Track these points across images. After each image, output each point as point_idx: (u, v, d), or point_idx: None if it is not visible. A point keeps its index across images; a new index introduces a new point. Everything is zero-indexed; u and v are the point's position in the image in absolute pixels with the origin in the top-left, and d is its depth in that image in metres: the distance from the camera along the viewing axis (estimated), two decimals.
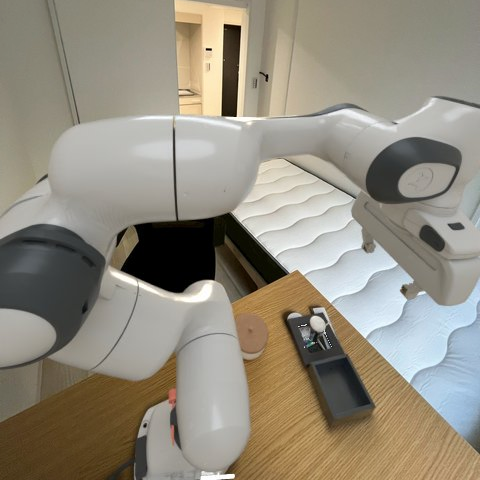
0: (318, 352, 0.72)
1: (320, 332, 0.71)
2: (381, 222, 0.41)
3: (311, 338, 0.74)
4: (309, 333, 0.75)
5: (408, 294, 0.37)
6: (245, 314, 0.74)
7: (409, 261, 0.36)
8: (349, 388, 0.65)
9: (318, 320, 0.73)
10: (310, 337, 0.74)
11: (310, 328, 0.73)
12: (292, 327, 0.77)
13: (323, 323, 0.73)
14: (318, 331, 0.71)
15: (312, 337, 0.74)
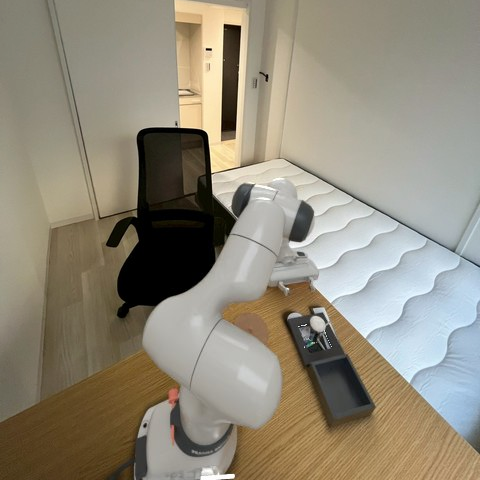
0: (318, 352, 0.72)
1: (320, 332, 0.71)
2: (284, 269, 0.91)
3: (311, 338, 0.74)
4: (309, 333, 0.75)
5: (313, 285, 0.86)
6: (245, 314, 0.74)
7: (303, 270, 0.91)
8: (349, 388, 0.65)
9: (318, 320, 0.73)
10: (310, 337, 0.74)
11: (310, 328, 0.73)
12: (292, 327, 0.77)
13: (323, 323, 0.73)
14: (318, 331, 0.71)
15: (312, 337, 0.74)
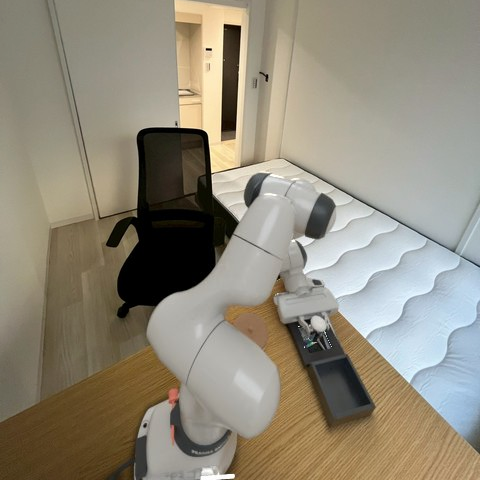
0: (318, 352, 0.72)
1: (321, 332, 0.71)
2: (299, 302, 0.79)
3: (311, 338, 0.74)
4: None
5: (327, 323, 0.75)
6: (245, 314, 0.74)
7: (320, 303, 0.79)
8: (349, 388, 0.65)
9: (318, 320, 0.73)
10: (310, 337, 0.74)
11: None
12: (292, 327, 0.77)
13: (324, 323, 0.73)
14: (319, 331, 0.71)
15: (312, 337, 0.74)
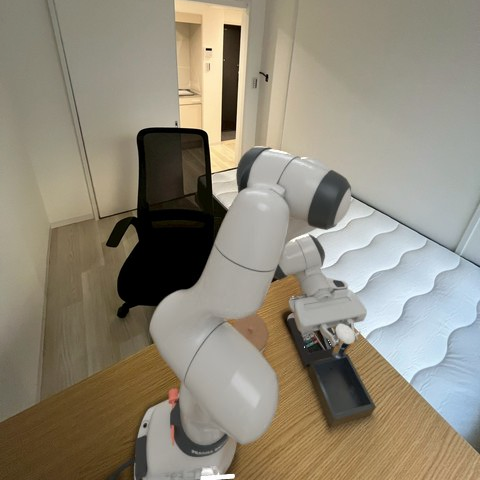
0: (318, 352, 0.72)
1: (349, 344, 0.59)
2: (320, 307, 0.67)
3: (336, 351, 0.62)
4: None
5: None
6: None
7: (345, 308, 0.67)
8: (349, 388, 0.65)
9: (345, 330, 0.61)
10: (335, 349, 0.62)
11: None
12: (292, 327, 0.77)
13: (352, 333, 0.60)
14: (346, 342, 0.59)
15: (338, 349, 0.61)
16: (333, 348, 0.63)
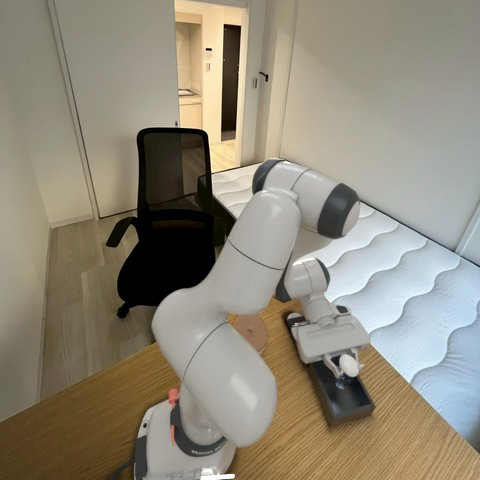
0: None
1: (353, 377, 0.58)
2: (323, 335, 0.66)
3: (340, 382, 0.61)
4: None
5: None
6: None
7: (348, 337, 0.66)
8: (349, 388, 0.65)
9: (349, 361, 0.60)
10: (339, 380, 0.61)
11: None
12: None
13: (356, 365, 0.59)
14: (351, 375, 0.58)
15: (341, 381, 0.60)
16: (337, 379, 0.62)
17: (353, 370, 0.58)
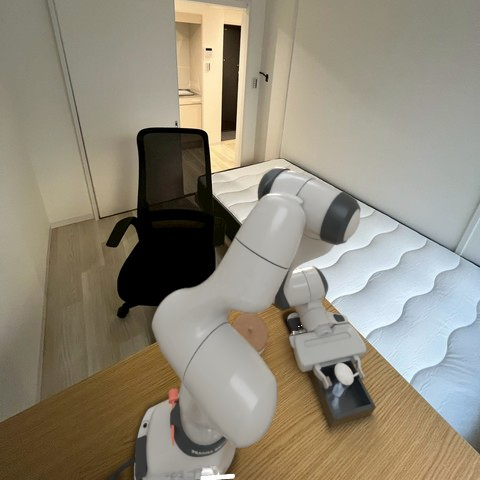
0: None
1: (347, 385, 0.60)
2: (320, 344, 0.67)
3: (336, 390, 0.63)
4: (333, 384, 0.63)
5: (361, 370, 0.63)
6: (245, 314, 0.74)
7: (344, 345, 0.67)
8: (349, 388, 0.65)
9: (344, 370, 0.61)
10: (334, 389, 0.63)
11: (335, 379, 0.62)
12: (292, 327, 0.77)
13: (350, 373, 0.61)
14: (345, 384, 0.60)
15: (337, 389, 0.62)
16: (333, 387, 0.64)
17: (347, 379, 0.60)
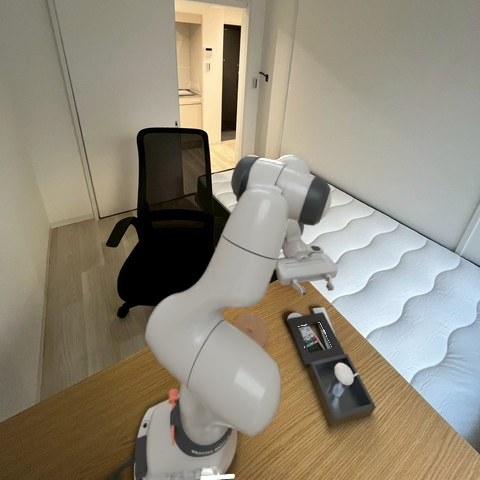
0: (318, 352, 0.72)
1: (347, 385, 0.60)
2: (298, 265, 0.80)
3: (336, 390, 0.63)
4: (333, 384, 0.63)
5: (331, 283, 0.75)
6: (245, 314, 0.74)
7: (319, 267, 0.79)
8: (349, 388, 0.65)
9: (344, 370, 0.61)
10: (334, 389, 0.63)
11: (335, 379, 0.62)
12: (292, 327, 0.77)
13: (350, 373, 0.61)
14: (345, 384, 0.60)
15: (337, 389, 0.62)
16: (333, 387, 0.64)
17: (347, 379, 0.60)
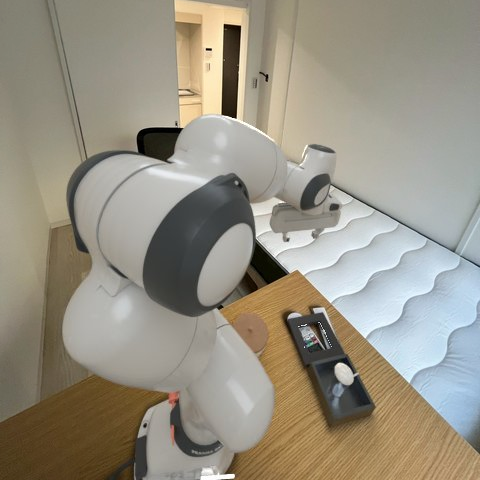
0: (318, 352, 0.72)
1: (347, 385, 0.60)
2: (299, 220, 0.67)
3: (336, 390, 0.63)
4: (333, 384, 0.63)
5: (318, 235, 0.72)
6: (245, 314, 0.74)
7: (319, 223, 0.69)
8: (349, 388, 0.65)
9: (344, 370, 0.61)
10: (334, 389, 0.63)
11: (335, 379, 0.62)
12: (292, 327, 0.77)
13: (350, 373, 0.61)
14: (345, 384, 0.60)
15: (337, 389, 0.62)
16: (333, 387, 0.64)
17: (347, 379, 0.60)
